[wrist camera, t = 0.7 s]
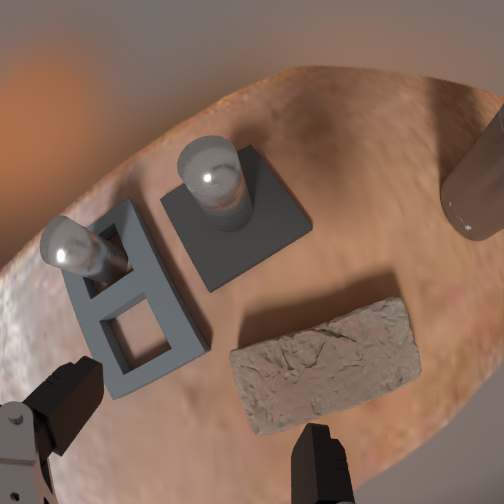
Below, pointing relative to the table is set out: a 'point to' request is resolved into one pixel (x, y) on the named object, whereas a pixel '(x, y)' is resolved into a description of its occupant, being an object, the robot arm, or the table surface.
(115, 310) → the grey slotted holder
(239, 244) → the mat
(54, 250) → the cylinder
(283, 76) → the table surface
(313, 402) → the brick
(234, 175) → the cylinder
